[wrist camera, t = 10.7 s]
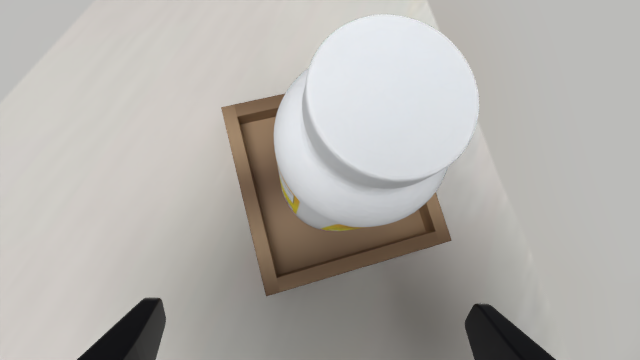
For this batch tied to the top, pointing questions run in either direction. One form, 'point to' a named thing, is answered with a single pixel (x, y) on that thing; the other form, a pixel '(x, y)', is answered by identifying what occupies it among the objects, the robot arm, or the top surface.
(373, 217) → the supplement bottle
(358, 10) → the top surface
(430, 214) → the walnut tray
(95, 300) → the top surface
